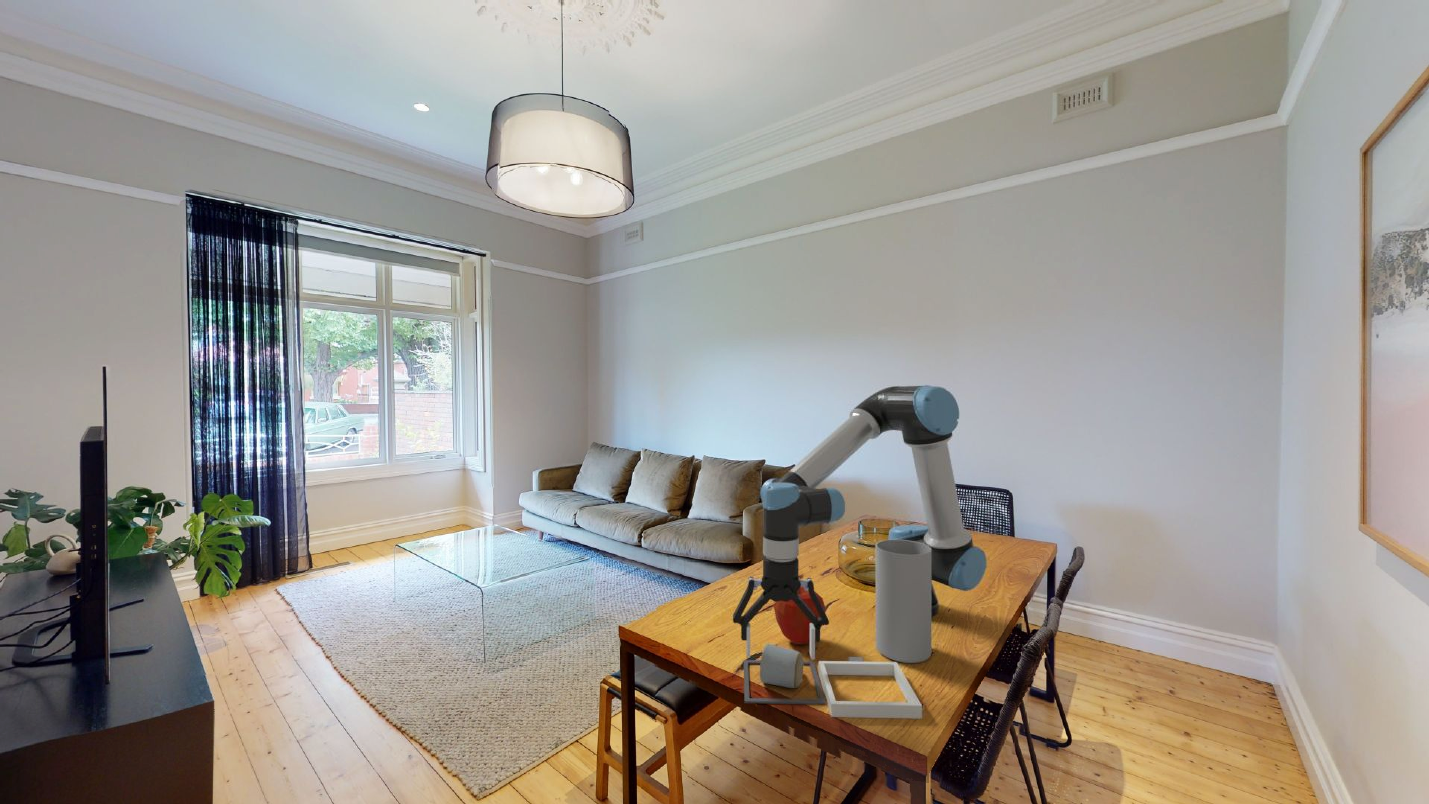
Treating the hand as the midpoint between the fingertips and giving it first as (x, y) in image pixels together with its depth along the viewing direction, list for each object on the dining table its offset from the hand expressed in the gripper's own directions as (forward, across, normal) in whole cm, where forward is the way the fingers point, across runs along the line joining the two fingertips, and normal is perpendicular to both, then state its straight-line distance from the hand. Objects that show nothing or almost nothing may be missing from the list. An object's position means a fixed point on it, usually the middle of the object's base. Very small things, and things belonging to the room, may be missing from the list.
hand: (780, 655), depth 113 cm
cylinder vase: (+6, -30, -14) cm, 34 cm away
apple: (+6, -6, -18) cm, 20 cm away
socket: (+5, -17, +3) cm, 18 cm away
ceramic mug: (+6, -1, -1) cm, 6 cm away
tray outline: (+6, 0, 0) cm, 6 cm away
